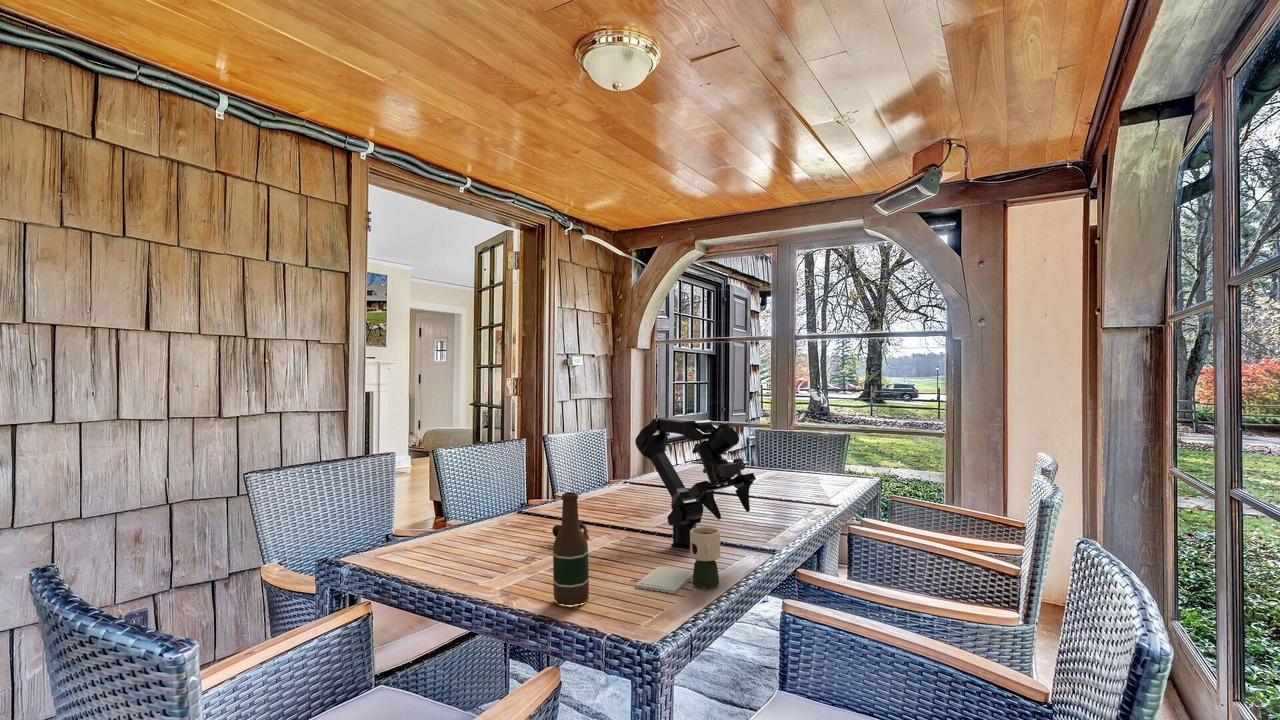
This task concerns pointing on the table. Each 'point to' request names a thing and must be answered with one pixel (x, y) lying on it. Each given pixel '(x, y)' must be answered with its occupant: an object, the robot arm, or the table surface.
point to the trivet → (665, 579)
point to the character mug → (705, 556)
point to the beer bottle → (570, 556)
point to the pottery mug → (558, 527)
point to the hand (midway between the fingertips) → (734, 515)
